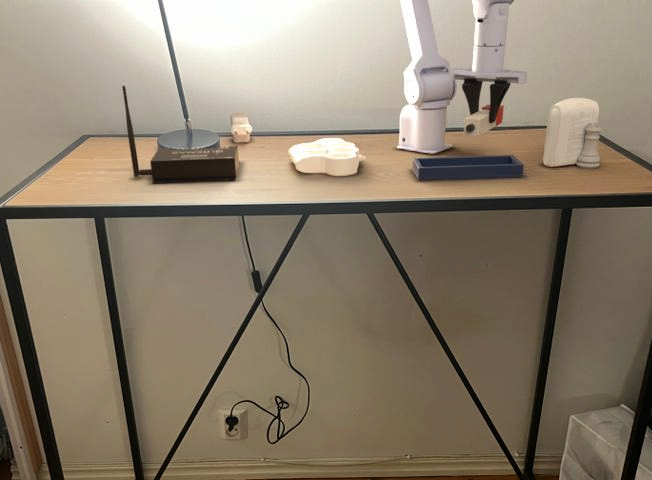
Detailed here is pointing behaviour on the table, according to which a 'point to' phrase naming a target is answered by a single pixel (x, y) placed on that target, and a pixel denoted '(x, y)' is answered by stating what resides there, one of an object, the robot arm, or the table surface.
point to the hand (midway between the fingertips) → (483, 121)
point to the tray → (467, 167)
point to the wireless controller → (185, 161)
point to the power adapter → (240, 127)
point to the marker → (481, 121)
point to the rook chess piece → (590, 148)
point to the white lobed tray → (327, 157)
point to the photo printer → (568, 130)
